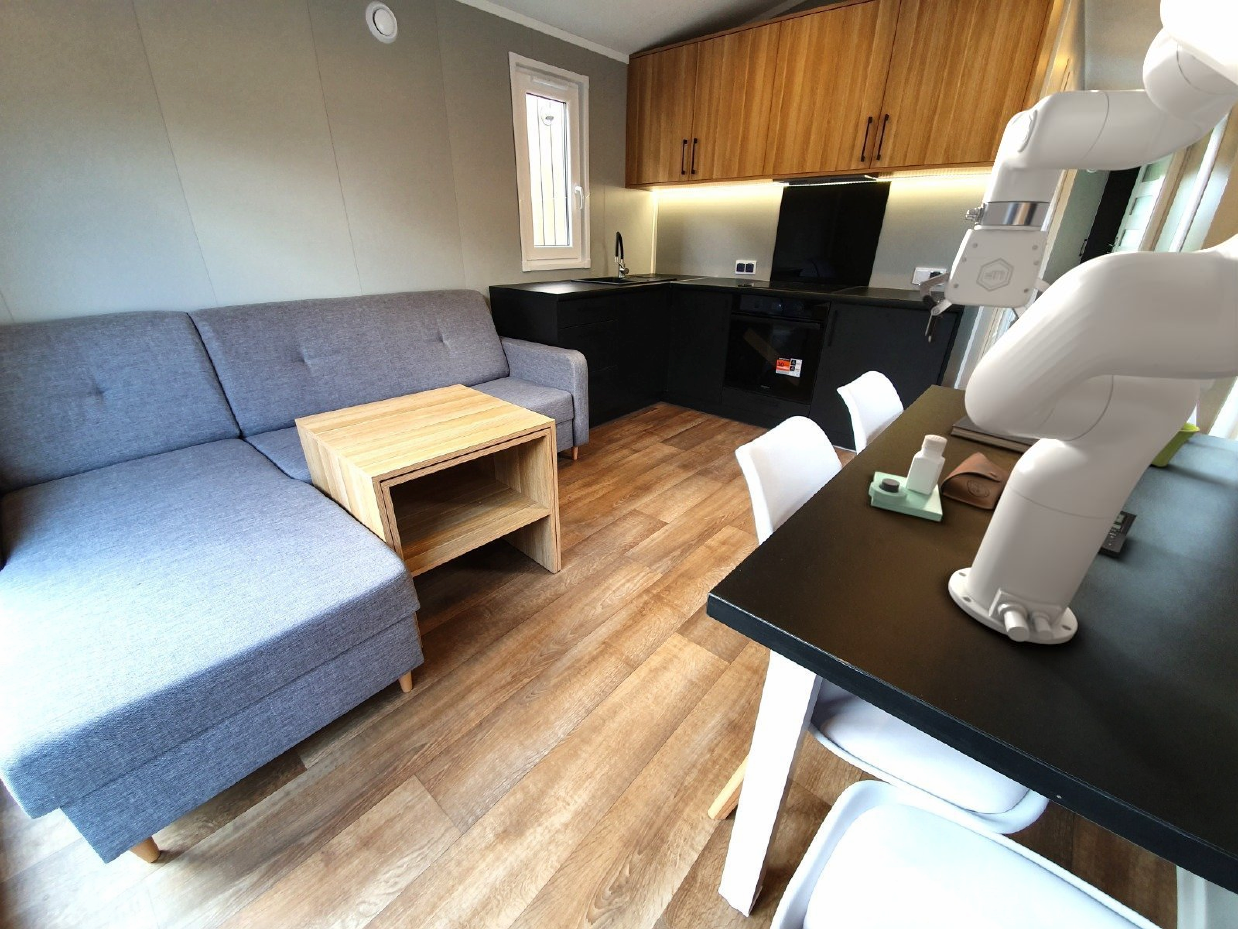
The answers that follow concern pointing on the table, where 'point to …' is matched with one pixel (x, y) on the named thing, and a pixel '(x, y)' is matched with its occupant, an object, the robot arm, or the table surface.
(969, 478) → the sunglasses case
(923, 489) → the pepper shaker
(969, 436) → the hardcover book
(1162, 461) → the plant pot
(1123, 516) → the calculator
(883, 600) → the table surface
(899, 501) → the scale
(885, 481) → the tare button
